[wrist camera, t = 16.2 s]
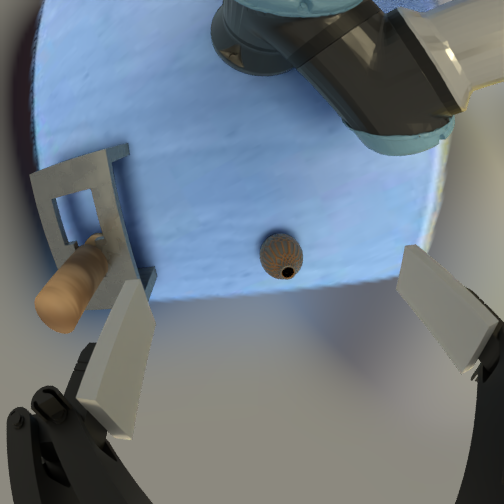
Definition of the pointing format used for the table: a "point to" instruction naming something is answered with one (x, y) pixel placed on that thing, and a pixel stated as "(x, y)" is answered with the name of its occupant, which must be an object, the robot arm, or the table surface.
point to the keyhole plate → (109, 214)
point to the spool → (72, 287)
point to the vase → (281, 256)
